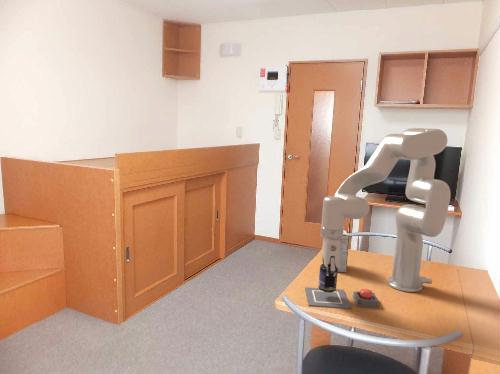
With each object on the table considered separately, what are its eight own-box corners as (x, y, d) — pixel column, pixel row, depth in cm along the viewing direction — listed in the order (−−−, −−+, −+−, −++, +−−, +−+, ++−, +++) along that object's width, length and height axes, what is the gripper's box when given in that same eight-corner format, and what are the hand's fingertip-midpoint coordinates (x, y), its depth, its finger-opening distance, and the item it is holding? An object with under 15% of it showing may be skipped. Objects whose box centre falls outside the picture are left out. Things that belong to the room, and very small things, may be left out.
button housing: (372, 298, 134) (373, 292, 134) (378, 307, 127) (379, 301, 127) (352, 297, 135) (353, 291, 134) (357, 306, 128) (357, 299, 127)
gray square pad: (343, 290, 140) (343, 289, 140) (350, 308, 126) (351, 307, 126) (304, 288, 140) (305, 287, 140) (308, 305, 127) (308, 304, 126)
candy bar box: (329, 262, 168) (332, 226, 166) (340, 263, 168) (343, 227, 166) (334, 272, 157) (337, 234, 155) (346, 273, 157) (350, 234, 155)
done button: (370, 294, 132) (370, 289, 132) (373, 299, 129) (373, 294, 128) (358, 293, 133) (359, 288, 132) (361, 299, 129) (361, 293, 128)
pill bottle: (331, 294, 128) (333, 263, 127) (315, 289, 132) (317, 259, 130) (338, 288, 133) (341, 258, 131) (323, 284, 137) (325, 254, 135)
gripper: (348, 240, 121) (343, 294, 123) (338, 226, 138) (334, 273, 140) (324, 239, 121) (319, 292, 124) (317, 225, 138) (314, 272, 141)
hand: (327, 282), depth 132 cm, fingers closed on pill bottle, 6 cm apart
